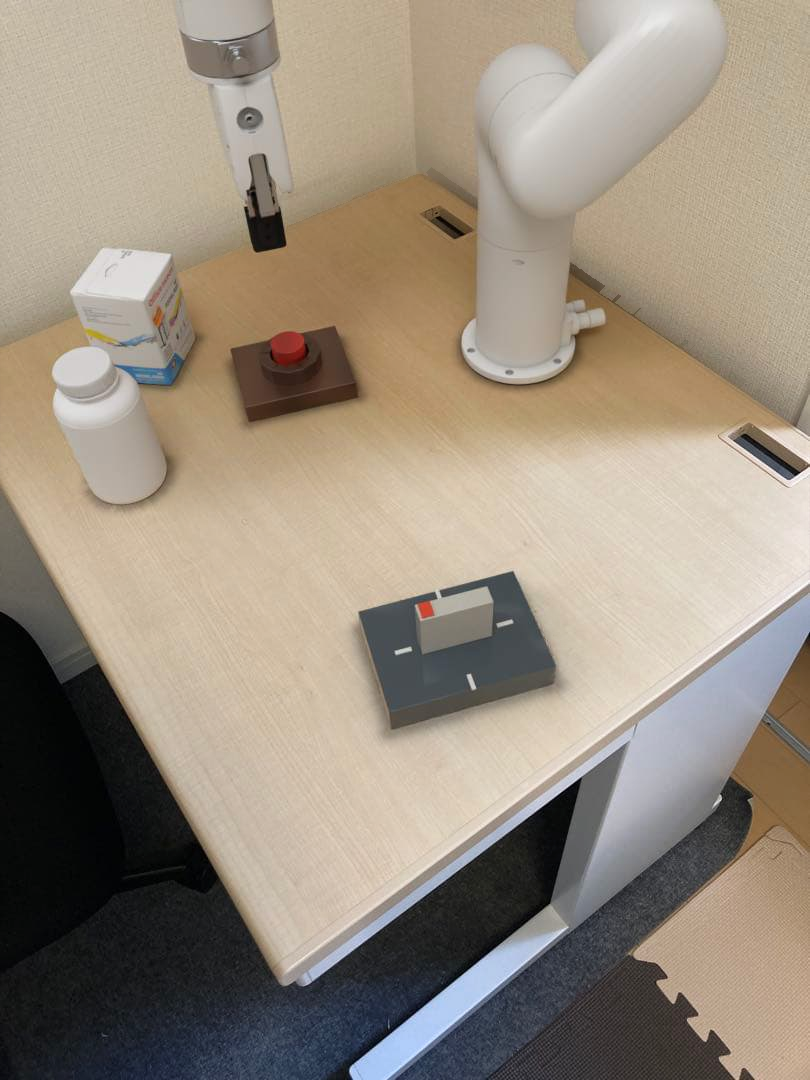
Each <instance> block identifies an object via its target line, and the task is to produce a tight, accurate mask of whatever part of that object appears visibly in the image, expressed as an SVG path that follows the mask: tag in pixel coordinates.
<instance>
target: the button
mask: <svg viewBox="0 0 810 1080" xmlns="http://www.w3.org/2000/svg"><path fill="white" fill-rule="evenodd" d="M299 333H300V332H297V331H293V330H292V331H291V330H289V331H282V332H280V333H277V334H276V335H274V336H275V337H274V336H272V337H273V339H272V340H271V349H272V354H273V358H274V360H275V361H276V362H277V363H278V364H282V365H291V364H296V363H299V362H300V361H302V360H303V359H305V357H306V347H305V341H304V337H303V336H302V335H301V334H299Z"/></svg>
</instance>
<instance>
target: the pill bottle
mask: <svg viewBox="0 0 810 1080" xmlns="http://www.w3.org/2000/svg"><path fill="white" fill-rule="evenodd" d="M51 376H52V379H53V381H54V383H55V385H56V387H57V388H56V390H55V392H54V395H53V399H52V408H53V413H54V416H55V418H56V420H57V423H58V425H59V427H60V429H61V431H62V433H63V435H64V437H65V439H66V441H67V443H68V446H69V447H70V449H71V451H72V454H73V456H74V458H75V460H76V463H77V464H78V466H79V469H80V471H81V473H82V474H83V477H84V479H85V481H86V483H87V485H88V487H89V489H90V490H91V491H92V493H93V494H94V495H95V496H96V498H98V499H99V500H101V501H103V502H105V503H108V504H112V505H129V504H130V505H131V504H134V503H139V502H140V501H143V500H145V499H147V498H148V497H150V496H151V495H153V494H155V493H156V492H157V491H158V489H160V487H161V486H162V484H163V483H164V481H165V479H166V477H167V471H168V470H167V469H168V467H167V461H166V457H165V453H164V452H163V449H162V446H161V444H160V441H159V438H158V434H157V433H156V430H155V426H154V424H153V421H152V418H151V416H150V413H149V410H148V408H147V405H146V402H145V399H144V397H143V394H142V391H141V388H140V386H139V383H137V382H136V381H135V379H134V378H133V377H132V376H131V375H130V374H129V373H127V372H126V371H124V370H122V369H120V368H118V367H115V366H114V363H113V361H112V358H111V356H110V355H109V354H108V353H107V352H106V351H104V350H103V349H100V348H97V347H91V346H80V347H77V348H73V349H71V350H69V351H67V352H65V353H64V354H62V355H61V356H60V357H59V358H58V359H56V361H55V363H54V364H53V367H52V371H51Z"/></svg>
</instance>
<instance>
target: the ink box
mask: <svg viewBox="0 0 810 1080" xmlns="http://www.w3.org/2000/svg"><path fill="white" fill-rule="evenodd" d="M173 258H174V257H173V254H171V253H165V252H156V251H149V250H138V249H128V248H114V247H102V248H101V249H100V250H99V251H98V253H97V255H96V256H94V259H93V260H92V262H91V263H90V264H89V266H88V267H86V269H85V271H84V272H83V273H82V275H81V276H80V277H79V279H78V280H77V281H76V283H75V284H74V286H73V287H72V288H71V289H70V291H69V293H70V297H71V300H72V302H73V305H74V308H75V310H76V314H77V316H78V318H79V321H80V323H81V325H82V329H83V331H84V334H85V336H86V339H87V342H88V344H89V347H97V348H100V349H103V350H104V351H106V352H107V353H108V354H109V355H110V356H111V358H112V361H113V363H114V366H115V367H118V368H120V369H122V370H124V371H126V372H127V373H129V374H130V375H131V376H132V377H133V378H134V379H135V381H136V382H137V384H146V385H147V384H148V385H158V386H159V385H160V386H172V385H173V383H174V382H175V380H176V378H177V376H178V373H179V372H180V370H181V368H182V366H183V364H184V362H185V360H186V358H187V356H188V354H189V352H190V351H191V349H192V347H193V345H194V343H195V341H196V335H195V332H194V327H193V324H192V321H191V318H190V313H189V311H188V307H187V304H186V301H185V297H184V293H183V291H182V290H183V289H182V286H181V283H180V279H179V276H178V272H177V269H176V265H175V262H174V259H173Z"/></svg>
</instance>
